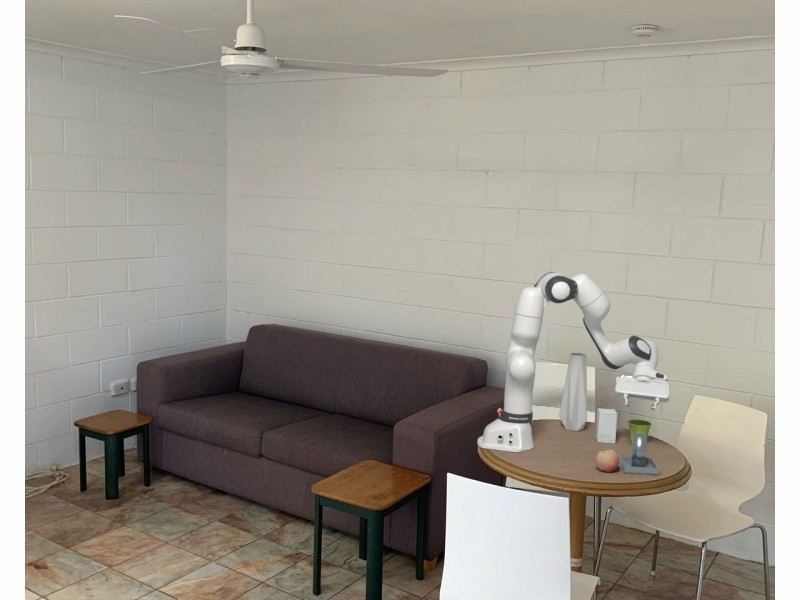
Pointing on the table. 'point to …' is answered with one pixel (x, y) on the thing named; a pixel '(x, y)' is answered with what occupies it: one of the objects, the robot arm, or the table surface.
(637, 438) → the canister
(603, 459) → the fruit
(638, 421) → the plant pot
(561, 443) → the table surface
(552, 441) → the table surface
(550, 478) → the table surface
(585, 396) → the vase
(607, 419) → the supplement box
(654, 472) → the tray
